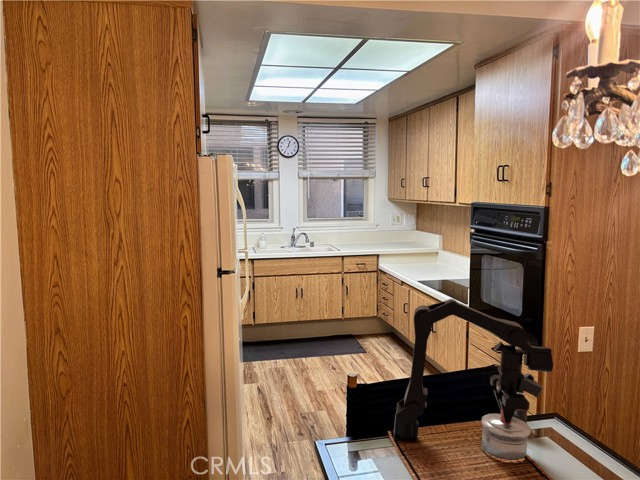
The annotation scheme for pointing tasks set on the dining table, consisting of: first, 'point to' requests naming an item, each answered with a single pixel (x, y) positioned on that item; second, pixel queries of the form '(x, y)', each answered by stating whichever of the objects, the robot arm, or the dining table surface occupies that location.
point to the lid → (505, 426)
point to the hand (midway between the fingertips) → (505, 420)
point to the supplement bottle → (521, 414)
